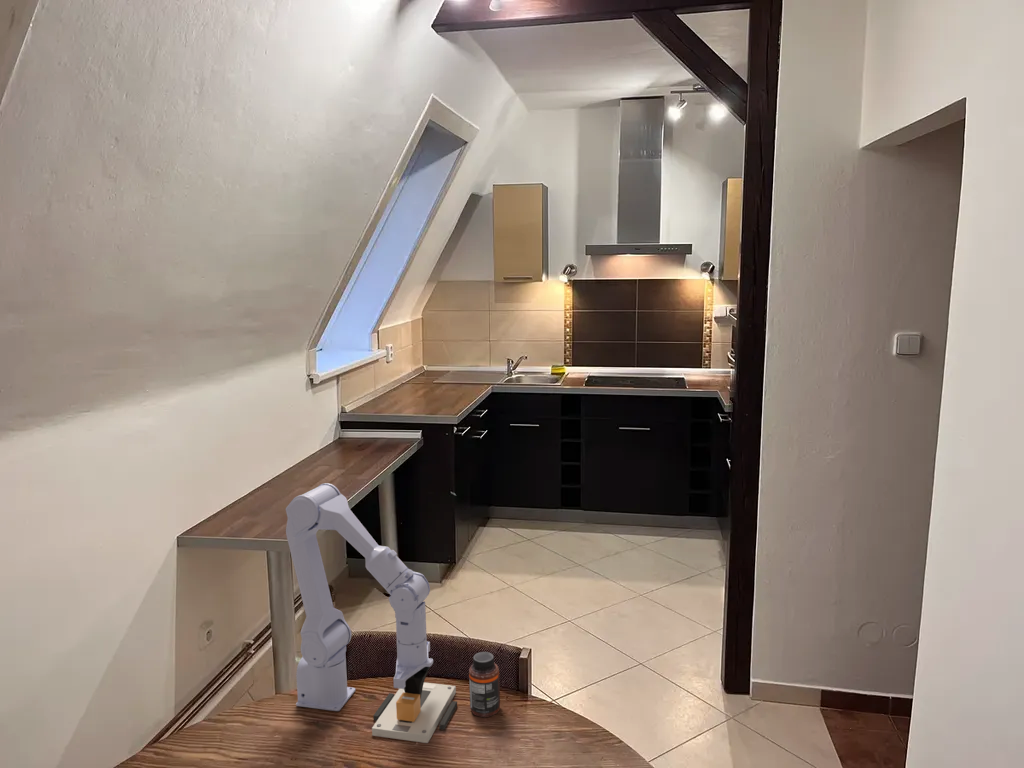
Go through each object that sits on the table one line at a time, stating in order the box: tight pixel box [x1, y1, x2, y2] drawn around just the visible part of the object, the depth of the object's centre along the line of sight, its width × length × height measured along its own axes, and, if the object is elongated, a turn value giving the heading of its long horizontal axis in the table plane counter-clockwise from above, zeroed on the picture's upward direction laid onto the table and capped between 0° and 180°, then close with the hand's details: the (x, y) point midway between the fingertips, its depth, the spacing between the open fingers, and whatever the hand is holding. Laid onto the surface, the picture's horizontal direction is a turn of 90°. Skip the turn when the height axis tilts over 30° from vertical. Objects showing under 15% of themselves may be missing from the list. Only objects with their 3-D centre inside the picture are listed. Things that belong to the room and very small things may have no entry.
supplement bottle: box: [468, 651, 501, 718], centre depth 149 cm, size 6×6×11 cm
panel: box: [371, 681, 457, 744], centre depth 149 cm, size 11×17×2 cm, turn 166°
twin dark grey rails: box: [372, 692, 458, 731], centre depth 149 cm, size 14×8×1 cm, turn 77°
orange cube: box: [396, 692, 421, 722], centre depth 145 cm, size 4×4×4 cm
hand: (414, 703), depth 148 cm, fingers closed
